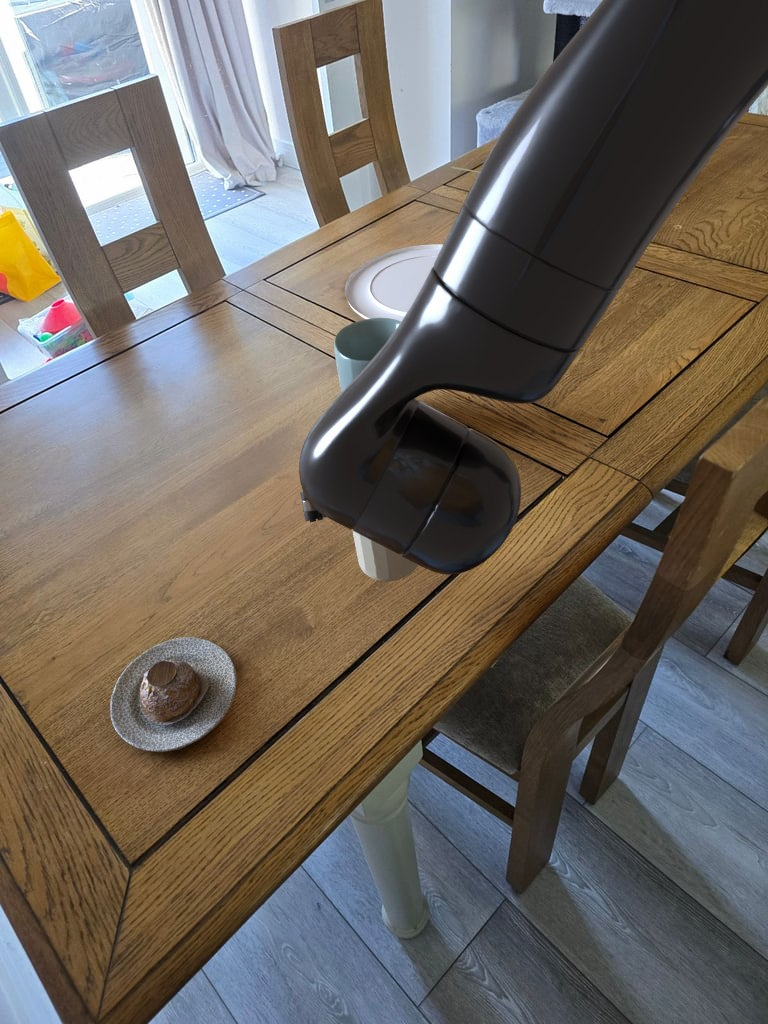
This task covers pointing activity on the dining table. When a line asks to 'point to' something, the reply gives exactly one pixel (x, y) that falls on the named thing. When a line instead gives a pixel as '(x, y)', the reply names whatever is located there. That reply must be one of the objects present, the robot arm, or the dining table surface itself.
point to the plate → (390, 281)
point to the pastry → (173, 694)
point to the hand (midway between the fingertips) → (379, 494)
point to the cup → (360, 346)
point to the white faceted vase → (381, 560)
